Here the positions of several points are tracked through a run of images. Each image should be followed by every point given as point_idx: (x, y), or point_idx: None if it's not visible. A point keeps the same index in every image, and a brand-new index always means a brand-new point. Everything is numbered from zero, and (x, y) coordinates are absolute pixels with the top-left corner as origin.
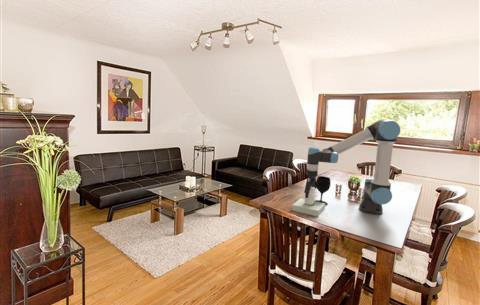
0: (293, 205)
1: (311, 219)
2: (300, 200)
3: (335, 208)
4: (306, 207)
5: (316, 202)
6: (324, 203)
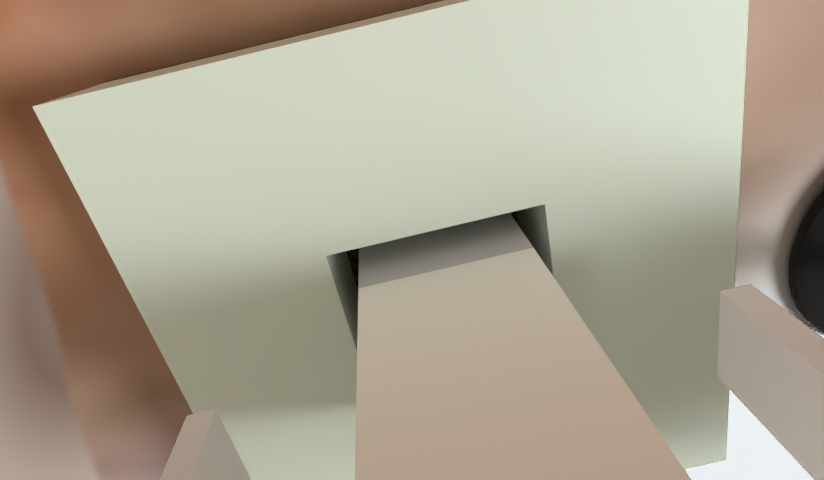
0: (53, 138)
1: (110, 477)
2: (547, 50)
3: (786, 457)
4: (219, 391)
5: (672, 354)
6: (714, 453)
